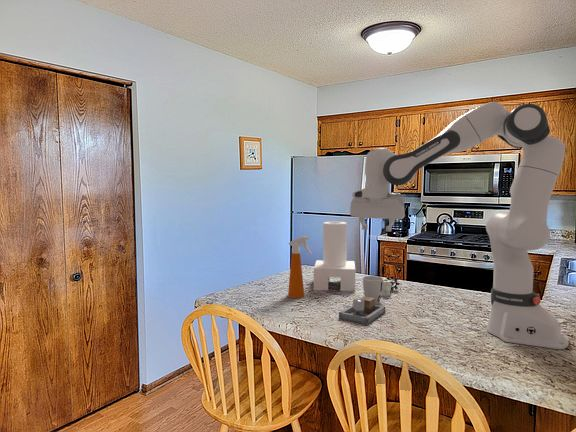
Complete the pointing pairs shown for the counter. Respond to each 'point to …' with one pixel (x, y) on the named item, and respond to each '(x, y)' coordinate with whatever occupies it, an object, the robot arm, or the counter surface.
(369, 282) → the cup
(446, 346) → the counter surface
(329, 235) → the white cylinder stand
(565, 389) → the counter surface
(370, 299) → the walnut block
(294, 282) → the spray bottle
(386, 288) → the valve
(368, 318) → the parts tray
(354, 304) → the metal cylinder
